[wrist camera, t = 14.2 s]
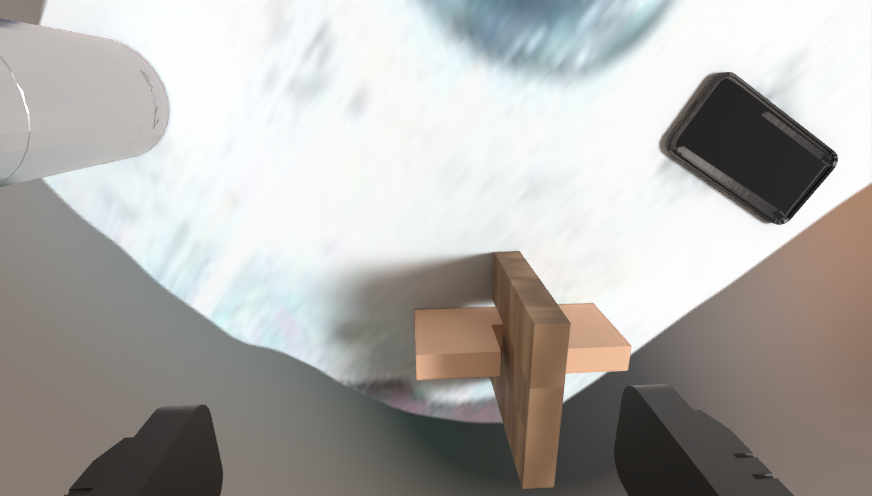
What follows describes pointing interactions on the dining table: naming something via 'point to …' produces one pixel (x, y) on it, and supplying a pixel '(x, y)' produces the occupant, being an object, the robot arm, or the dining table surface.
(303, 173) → the dining table surface
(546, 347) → the upright wooden board
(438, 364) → the horizontal wooden crosspiece
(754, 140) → the phone
